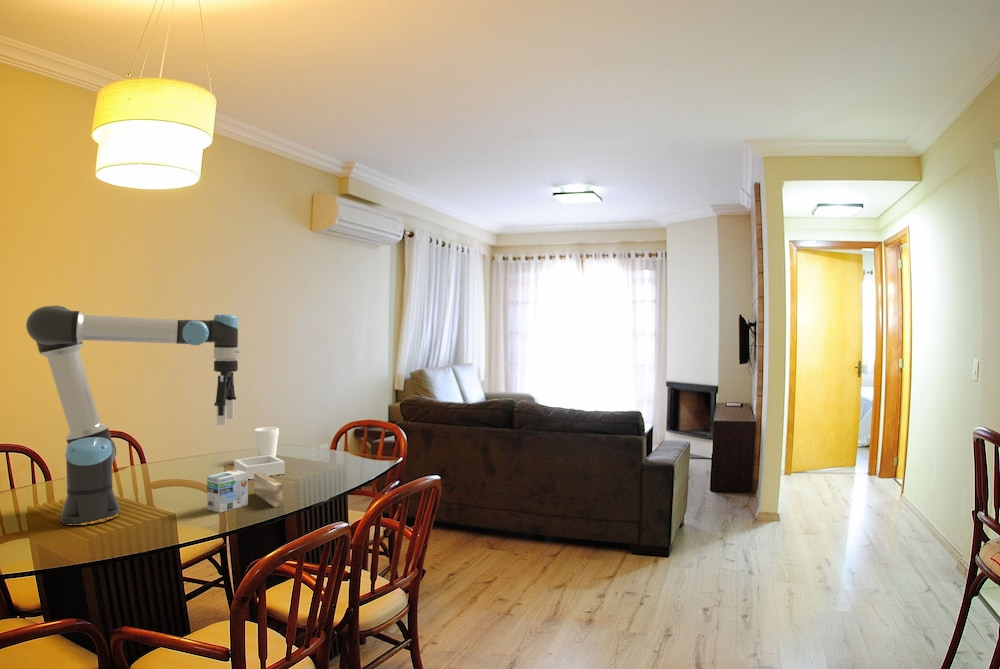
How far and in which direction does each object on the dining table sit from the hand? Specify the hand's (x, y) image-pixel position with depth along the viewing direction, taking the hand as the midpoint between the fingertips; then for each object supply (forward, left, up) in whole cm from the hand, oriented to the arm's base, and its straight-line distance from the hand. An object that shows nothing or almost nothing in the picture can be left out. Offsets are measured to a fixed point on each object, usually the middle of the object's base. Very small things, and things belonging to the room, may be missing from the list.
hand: (225, 421), depth 230 cm
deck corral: (+17, +19, -24) cm, 35 cm away
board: (+8, -17, -24) cm, 31 cm away
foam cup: (+27, +40, -24) cm, 54 cm away
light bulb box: (-5, -18, -25) cm, 31 cm away
